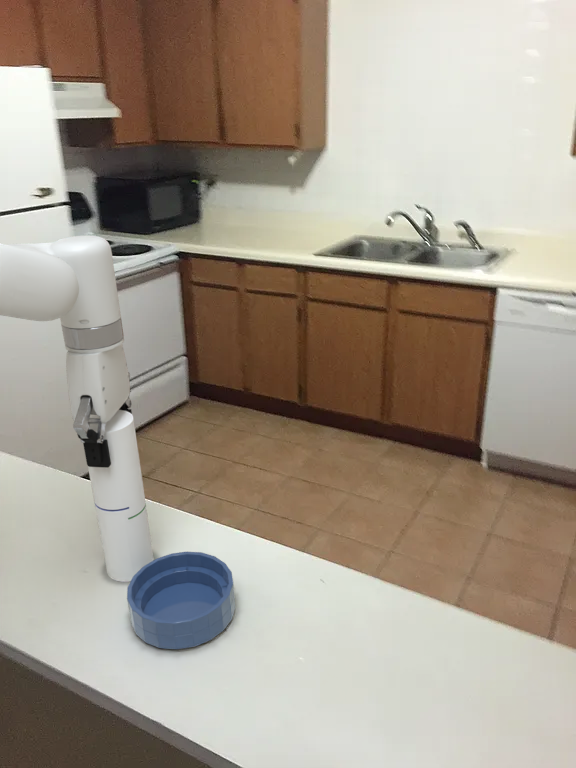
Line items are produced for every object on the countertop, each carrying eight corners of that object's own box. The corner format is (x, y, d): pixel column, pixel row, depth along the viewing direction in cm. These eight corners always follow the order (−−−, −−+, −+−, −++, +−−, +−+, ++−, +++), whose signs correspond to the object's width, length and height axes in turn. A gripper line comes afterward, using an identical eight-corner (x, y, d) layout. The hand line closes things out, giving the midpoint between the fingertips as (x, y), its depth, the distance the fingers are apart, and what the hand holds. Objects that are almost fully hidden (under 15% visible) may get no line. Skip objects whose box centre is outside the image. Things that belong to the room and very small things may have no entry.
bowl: (116, 648, 87) (111, 618, 85) (151, 576, 100) (147, 548, 98) (222, 656, 85) (219, 626, 83) (243, 582, 98) (241, 554, 96)
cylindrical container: (104, 558, 104) (78, 415, 94) (149, 546, 107) (129, 406, 97) (109, 587, 98) (82, 437, 88) (158, 574, 100) (137, 426, 90)
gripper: (92, 312, 96) (109, 420, 103) (34, 357, 80) (59, 481, 87) (143, 312, 95) (157, 422, 102) (94, 358, 79) (114, 483, 86)
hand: (112, 449), depth 94 cm, fingers open, 8 cm apart
